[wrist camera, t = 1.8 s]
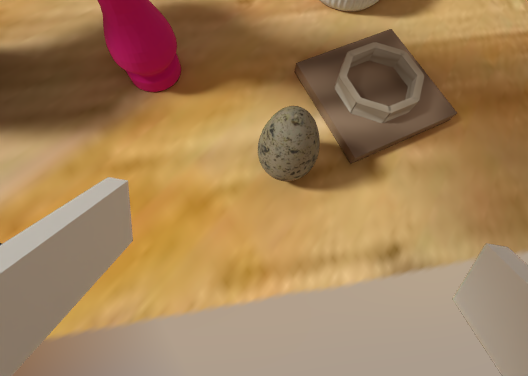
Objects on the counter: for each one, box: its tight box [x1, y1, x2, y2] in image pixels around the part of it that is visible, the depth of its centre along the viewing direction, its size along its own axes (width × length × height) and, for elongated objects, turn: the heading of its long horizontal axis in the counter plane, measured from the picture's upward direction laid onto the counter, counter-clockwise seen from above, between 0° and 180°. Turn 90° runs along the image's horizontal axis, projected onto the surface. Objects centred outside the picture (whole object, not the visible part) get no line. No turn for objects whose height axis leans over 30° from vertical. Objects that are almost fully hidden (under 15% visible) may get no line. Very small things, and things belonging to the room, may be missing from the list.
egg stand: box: [295, 29, 457, 163], centre depth 33 cm, size 14×14×4 cm
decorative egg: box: [258, 106, 320, 181], centre depth 27 cm, size 6×6×10 cm
